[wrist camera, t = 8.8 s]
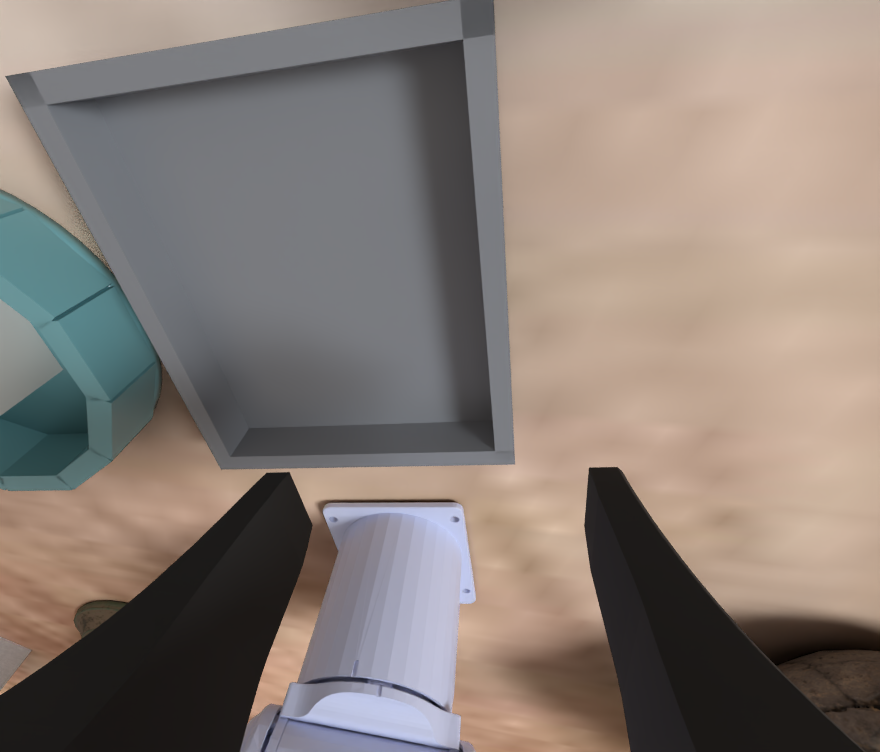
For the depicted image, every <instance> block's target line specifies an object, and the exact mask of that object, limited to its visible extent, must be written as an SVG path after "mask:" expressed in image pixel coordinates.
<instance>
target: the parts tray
mask: <svg viewBox="0 0 880 752" xmlns="http://www.w3.org/2000/svg"><path fill="white" fill-rule="evenodd" d="M5 77H6V78H7V80H8V82H9V84H10V86H11V88H12V89H13V91H14V93H15V95H16V97H17V98H18V100H19V102H20V104H21V106H22V108H23V109H24V111H25V113H26V115H27V117H28V118H29V120H30V122H31V124H32V126H33V128H34V129H35V131H36V133H37V135H38V137H39V139H40V140H41V142H42V144H43V146H44V148H45V149H46V151H47V153H48V155H49V157H50V159H51V160H52V162H53V164H54V166H55V168H56V169H57V171H58V173H59V175H60V177H61V179H62V180H63V182H64V184H65V186H66V188H67V190H68V191H69V193H70V195H71V197H72V199H73V200H74V202H75V204H76V206H77V208H78V210H79V211H80V213H81V215H82V217H83V219H84V221H85V222H86V224H87V226H88V228H89V230H90V231H91V233H92V235H93V237H94V239H95V241H96V242H97V244H98V246H99V248H100V250H101V251H102V253H103V255H104V257H105V259H106V261H107V262H108V264H109V266H110V268H111V270H112V272H113V273H114V275H115V277H116V279H117V281H118V282H119V284H120V286H121V288H122V290H123V292H124V293H125V295H126V297H127V299H128V301H129V302H130V304H131V306H132V308H133V310H134V312H135V313H136V315H137V317H138V319H139V321H140V323H141V324H142V326H143V328H144V330H145V332H146V333H147V335H148V337H149V339H150V341H151V343H152V344H153V346H154V348H155V350H156V352H157V353H158V355H159V357H160V359H161V361H162V363H163V364H164V366H165V368H166V370H167V372H168V374H169V375H170V377H171V379H172V381H173V383H174V384H175V386H176V388H177V390H178V392H179V394H180V395H181V397H182V399H183V401H184V403H185V404H186V406H187V408H188V410H189V412H190V414H191V415H192V417H193V419H194V421H195V423H196V425H197V426H198V428H199V430H200V432H201V434H202V435H203V437H204V439H205V441H206V443H207V445H208V446H209V448H210V450H211V452H212V454H213V455H214V457H215V459H216V461H217V463H218V465H219V466H220V468H221V469H276V468H334V467H392V466H450V465H508V464H515V456H514V434H513V413H512V391H511V370H510V348H509V326H508V305H507V283H506V262H505V240H504V218H503V197H502V175H501V154H500V132H499V111H498V89H497V67H496V46H495V24H494V3H493V0H450V1H444V2H438V3H432V4H426V5H420V6H414V7H409V8H403V9H397V10H391V11H385V12H379V13H373V14H367V15H362V16H356V17H350V18H344V19H338V20H332V21H326V22H321V23H315V24H309V25H303V26H297V27H291V28H285V29H280V30H274V31H268V32H262V33H256V34H250V35H244V36H238V37H233V38H227V39H221V40H215V41H209V42H203V43H197V44H192V45H186V46H180V47H174V48H168V49H162V50H156V51H151V52H145V53H139V54H133V55H127V56H121V57H115V58H110V59H104V60H98V61H92V62H86V63H80V64H74V65H68V66H63V67H57V68H51V69H45V70H39V71H33V72H27V73H22V74H16V75H10V76H5Z"/></svg>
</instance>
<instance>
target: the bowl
mask: <svg viewBox="0 0 880 752" xmlns="http://www.w3.org/2000/svg"><path fill="white" fill-rule="evenodd" d="M0 299H1V300H2V301H3V302H5V303H6V304H7V305H9V306H10V307H11V308H13V309H14V310H15V311H17V312H18V313H19V314H21V315H22V316H23V317H24V318H26V319H27V320H28V321H30V323H31V324H32V325H33V327H34V328H35V330H36V331H37V333H38V334H39V336H40V337H41V338H42V340H43V341H44V343H45V344H46V346H47V347H48V348H49V350H50V351H51V353H52V354H53V356H54V357H55V358H56V360H57V361H58V363H59V364H60V366H61V367H62V369H63V370H62V371H61V372H60V373H58V374H57V375H55V376H54V377H53V378H51V379H50V380H49V381H47V382H46V383H45V384H43V385H42V386H40V387H39V388H38V389H36V390H35V391H34V392H32V393H31V394H30V395H28V396H27V397H25V398H24V399H23V400H21V401H20V402H19V403H17V404H16V405H14V406H13V407H12V408H10V409H9V410H8V411H6V412H5V413H4V414H2V415H1V416H0V489H3V490H6V489H7V490H8V491H35V490H72V489H75V488H77V487H78V486H79V485H81V484H82V483H83V482H85V481H86V480H87V479H89V478H90V477H91V476H93V475H94V474H95V473H97V472H98V471H99V470H101V469H102V468H104V467H105V466H106V465H108V464H109V463H110V462H112V461H113V459H114V458H115V457H116V456H117V455H118V454H119V453H120V452H121V451H122V450H123V449H124V448H125V447H126V446H127V445H128V444H129V442H130V441H131V440H132V439H133V438H134V437H135V436H136V435H137V434H138V433H139V432H140V431H141V430H142V429H143V428H144V427H145V425H146V424H147V423H148V422H149V421H150V420H151V419H152V417H153V411H154V409H155V408H156V405H157V402H158V400H159V397H160V392H161V386H162V368H161V363H160V358H159V355H158V353H157V352H156V350H155V348H154V346H153V344H152V343H151V341H150V339H149V337H148V335H147V333H146V332H145V330H144V328H143V326H142V324H141V323H140V321H139V319H138V317H137V315H136V313H135V312H134V310H133V308H132V306H131V304H130V302H129V301H128V299H127V297H126V295H125V293H124V292H123V290H122V288H121V286H120V284H119V282H118V281H117V279H116V277H115V276H114V275H113V273H112V272H111V271H110V270H109V269H108V268H107V267H106V266H105V265H104V263H103V262H102V261H101V260H100V259H99V258H98V257H97V256H95V255H94V254H93V253H92V252H91V251H90V250H89V249H88V248H87V247H86V246H85V245H84V244H83V243H82V242H81V241H79V240H78V239H77V238H76V237H74V236H73V235H72V234H71V233H69V232H68V231H67V230H66V229H64V228H63V227H62V226H61V225H59V224H58V223H56V222H55V221H54V220H52V219H51V218H49V217H48V216H46V215H45V214H43V213H42V212H40V211H39V210H37V209H36V208H34V207H32V206H31V205H29V204H27V203H25V202H24V201H22V200H20V199H18V198H17V197H15V196H13V195H11V194H9V193H7V192H5V191H3V190H0Z"/></svg>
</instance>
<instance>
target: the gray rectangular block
mask: <svg viewBox="0 0 880 752" xmlns="http://www.w3.org/2000/svg"><path fill="white" fill-rule="evenodd" d="M62 370H63V369H62V367H61V366H60V364H59V363H58V361H57V360H56V358H55V357H54V356H53V354H52V353H51V351H50V350H49V348H48V347H47V346H46V344H45V343H44V341H43V340H42V338H41V337H40V336H39V334H38V333H37V331H36V330H35V328H34V327H33V325H32V324H31V323H30V321H28V320H27V319H26V318H24V317H23V316H22V315H21V314H19V313H18V312H17V311H15V310H14V309H13V308H11V307H10V306H9V305H7V304H6V303H5V302H3V301H2V300H1V299H0V416H1V415H2V414H4V413H5V412H6V411H8V410H9V409H10V408H12V407H13V406H14V405H16V404H17V403H19V402H20V401H21V400H23V399H24V398H25V397H27V396H28V395H30V394H31V393H32V392H34V391H35V390H36V389H38V388H39V387H40V386H42V385H43V384H45V383H46V382H47V381H49V380H50V379H51V378H53V377H54V376H55V375H57V374H58V373H60V372H61V371H62Z"/></svg>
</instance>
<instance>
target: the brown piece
mask: <svg viewBox="0 0 880 752" xmlns="http://www.w3.org/2000/svg"><path fill="white" fill-rule="evenodd" d="M777 667H778V668H779V669H780V670H781V672H782V673H783V674H784V675H785V676H786V677H787V678H788V679H789V680H790V681H791V682H792V683H793V684H794V685H796V686H797V687H798V688H799V689H800V690H801V691H802V692H803V693H804V694H805V695H806V696H807V697H808V698H809V699H810V700H811V701H812V702H813V703H814V704H816V705H817V706H818V707H819V708H820V709H821V710H822V711H823V712H824V713H825V714H826V715H827V716H828V717H829V718H830V719H831V720H832V721H833V722H834V723H835V724H837V725H838V726H839V727H840V728H841V729H842V730H843V731H844V732H845V733H846V734H847V735H848V736H849V737H850V738H851V739H852V740H853V741H854V742H856V743H857V744H858V745H859V746H860V747H861V748H862V749H863V750H864V751H866V752H880V651H870V650H837V651H819V652H815V653H812V654H809V655H805V656H802V657H799V658H796V659H793V660H790V661H787V662H785V663H782V664H780V665H777Z"/></svg>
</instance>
